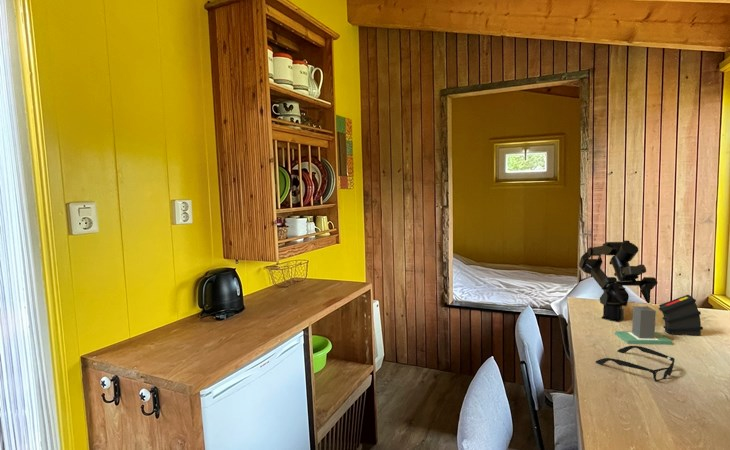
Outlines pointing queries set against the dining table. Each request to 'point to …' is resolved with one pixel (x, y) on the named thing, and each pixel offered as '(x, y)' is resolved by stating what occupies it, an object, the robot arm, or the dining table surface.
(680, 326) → the magazine
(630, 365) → the glasses
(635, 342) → the board
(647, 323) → the block
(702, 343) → the dining table surface
